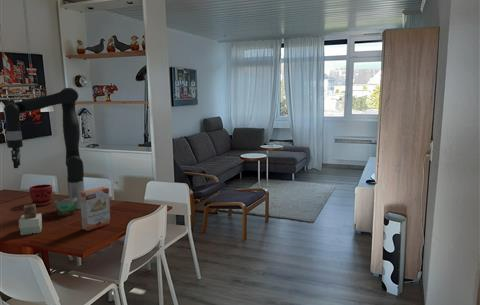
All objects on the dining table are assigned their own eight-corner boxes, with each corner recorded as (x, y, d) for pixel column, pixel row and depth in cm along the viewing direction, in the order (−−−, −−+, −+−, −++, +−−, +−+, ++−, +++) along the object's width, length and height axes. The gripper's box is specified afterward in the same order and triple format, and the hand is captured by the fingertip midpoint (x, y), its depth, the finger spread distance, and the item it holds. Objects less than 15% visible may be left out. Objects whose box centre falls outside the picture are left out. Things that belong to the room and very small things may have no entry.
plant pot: (57, 202, 239) (56, 185, 238) (37, 208, 228) (35, 189, 227) (46, 199, 246) (45, 182, 244) (26, 204, 235) (25, 186, 233)
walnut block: (36, 214, 193) (35, 203, 192) (35, 217, 189) (34, 206, 188) (25, 215, 191) (24, 205, 190) (24, 218, 186) (23, 207, 185)
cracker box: (88, 231, 190) (85, 193, 186) (81, 229, 193) (79, 191, 190) (111, 224, 201) (109, 187, 198) (104, 221, 205) (102, 186, 201)
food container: (55, 218, 210) (54, 201, 208) (55, 215, 215) (54, 199, 213) (78, 215, 215) (77, 199, 214) (77, 212, 221) (76, 196, 219)
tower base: (42, 227, 197) (41, 220, 196) (40, 233, 189) (39, 225, 188) (23, 229, 193) (22, 222, 192) (20, 235, 185) (20, 228, 184)
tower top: (41, 220, 196) (41, 213, 195) (39, 226, 187) (38, 218, 187) (23, 222, 193) (22, 215, 192) (19, 228, 184) (18, 220, 184)
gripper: (20, 140, 200) (23, 168, 203) (23, 137, 213) (26, 164, 215) (4, 140, 197) (7, 169, 199) (8, 137, 210) (11, 165, 212)
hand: (17, 166), depth 207 cm, fingers open, 8 cm apart
